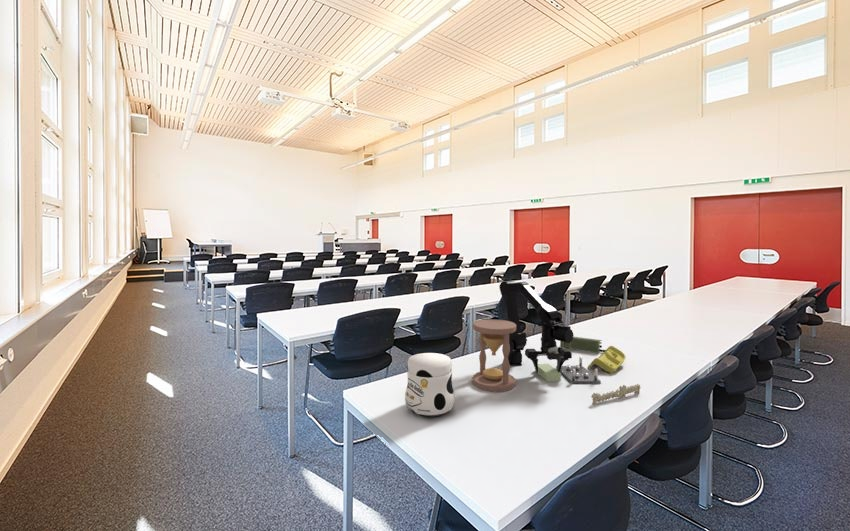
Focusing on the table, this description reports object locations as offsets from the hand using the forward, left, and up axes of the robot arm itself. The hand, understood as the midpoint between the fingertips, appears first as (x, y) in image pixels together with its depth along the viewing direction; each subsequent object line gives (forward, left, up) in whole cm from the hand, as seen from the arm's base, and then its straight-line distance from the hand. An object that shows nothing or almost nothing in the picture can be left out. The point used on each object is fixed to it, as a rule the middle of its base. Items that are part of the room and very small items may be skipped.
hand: (547, 372), depth 165 cm
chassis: (+13, 0, -1) cm, 13 cm away
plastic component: (+32, +11, -2) cm, 34 cm away
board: (0, 0, -2) cm, 2 cm away
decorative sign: (+18, -23, -2) cm, 30 cm away
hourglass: (-25, -8, -2) cm, 26 cm away
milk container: (-52, -31, -2) cm, 61 cm away
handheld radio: (+32, +35, -2) cm, 48 cm away
